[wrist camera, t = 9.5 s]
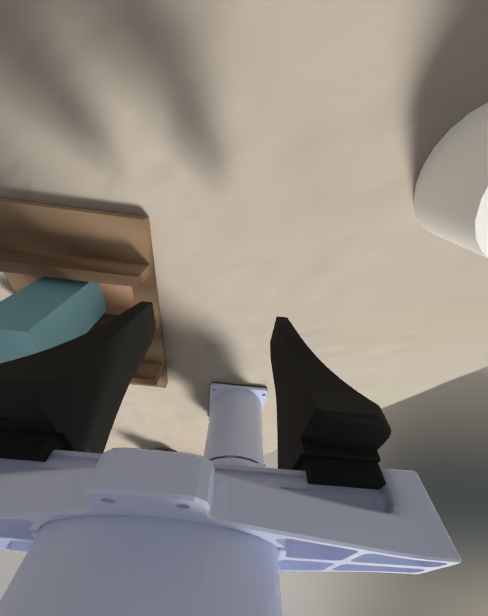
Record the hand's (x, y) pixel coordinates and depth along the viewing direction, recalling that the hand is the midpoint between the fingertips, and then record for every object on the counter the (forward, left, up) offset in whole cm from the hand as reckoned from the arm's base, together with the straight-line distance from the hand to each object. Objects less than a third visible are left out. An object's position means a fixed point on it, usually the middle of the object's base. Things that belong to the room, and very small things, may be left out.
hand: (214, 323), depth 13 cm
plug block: (-5, +14, -8) cm, 17 cm away
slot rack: (-8, +14, -9) cm, 19 cm away
